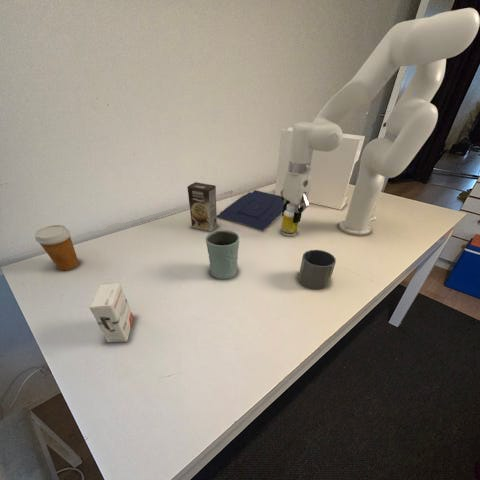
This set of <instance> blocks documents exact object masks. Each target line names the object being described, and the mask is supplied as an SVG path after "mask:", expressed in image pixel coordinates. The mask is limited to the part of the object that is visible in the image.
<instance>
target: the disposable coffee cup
mask: <svg viewBox="0 0 480 480" xmlns="http://www.w3.org/2000/svg"><path fill="white" fill-rule="evenodd" d="M34 240H35V241H36V242H37V243H38V244H39V245H40V246H41V247H42V249H43V250H44V252H45V253H46V254H47V255H48V256H49V258H50V259H51V261H52V262H53V263H54V264H55V266H56V267H57V269H58V270H60V271H69V270H74V269H75V268H76V267H78V266H79V263H80V262H79V259H78V256H77V252H76V249H75V246H74V243H73V240H72V237H71V231H70V230H69V229H68V228H67V227H66V226H65V225H63V224H62V225H61V224H52V225H51V224H50V225H46V226H44V227H41V228H39V229H37V230H36V231H35V232H34Z"/></svg>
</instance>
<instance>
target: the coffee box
mask: <svg viewBox="0 0 480 480" xmlns="http://www.w3.org/2000/svg"><path fill="white" fill-rule="evenodd" d="M216 188H217V186H216V185H215V184H208V183H203V182H197V181H195V182H193V183H191V184H189V185H188V186H187V195H188V204H189V205H188V206H189V212H190V223H191V228H192V229H196V230H201V231H207V232H210V233H211V232H213V231H214V229H216V228H217V227H218V217H217V216H218V213H217V189H216Z"/></svg>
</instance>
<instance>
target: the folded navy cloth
mask: <svg viewBox="0 0 480 480" xmlns="http://www.w3.org/2000/svg"><path fill="white" fill-rule="evenodd" d="M282 203H283V201H282V196H279V195H275V194H272V193H268V192H264V191H260V190H257V189H254V190H253V191H251V192H250V191H249V192H247V193H246V194H243V195H242V196H241V197H239V198H238V199H236V200H235V201H234V202H233V203H231V204H230V205H228V206H227V207H226V208H225V209H223V210H222V211H221V212H220V213H218V214H217V218H220V219H223V220H228V221H230V222H234V223H238V224H241V225H244V226H247V227H250V228H253V229H256V230H259V231H262V232H264V230H265V229H267V228H268V227H269V226H270V225H271V224H272V223H273V222H274V221H275V220H276V219H277V218H279V216H280V215H282V211H283V206H284V205H283V204H282ZM290 203H292V202H290Z"/></svg>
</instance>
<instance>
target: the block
mask: <svg viewBox="0 0 480 480" xmlns="http://www.w3.org/2000/svg"><path fill="white" fill-rule="evenodd" d="M292 131H293V127H290V126H289V127H288V128H287V129H283V128H282V129H281V132H280V142H279V150H278V151H279V152H278V162H277V171H276V172H277V173H276V179H275V180H276V181H275V191H274V195H277V196H281V193H280V192H281V191H282V190H283V186H284V180H285V176H286V172H287V170H288V162H289V154H290V146H291V138H292ZM365 138H366V136H365V135H358V134H352V133H351V134H350V133H349V134H348V133H343V138H342V141H341V143H340V145H339V146H338V147H337V148H336V149H335V150H333V151H330V152H323V151H317V150H313V154H312V159H311V165H310V168H311V169H310V171H309V173H310V190H309V197H308V203H309V204H314V205H319V206H323V207H328V208H330V209H331V208H332V209H336V210H342V209H343V208H344V206H345V205H346V203H347V200H348V196H347V192H348V188H349V185H350V182H351V178H352V174H353V172H354V171H353V170H354V168H355V165H356V163H357V162H358V161H359V159H360V157H361V156H360V155H361V152H362V148H363V145H364V142H365ZM281 197H282V196H281Z"/></svg>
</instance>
